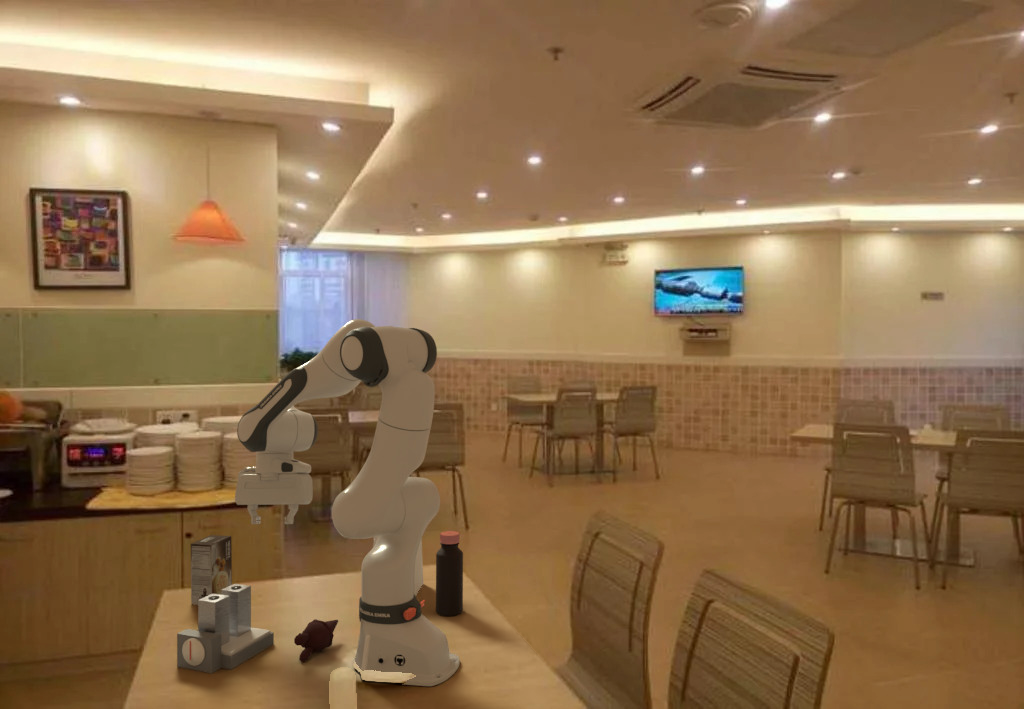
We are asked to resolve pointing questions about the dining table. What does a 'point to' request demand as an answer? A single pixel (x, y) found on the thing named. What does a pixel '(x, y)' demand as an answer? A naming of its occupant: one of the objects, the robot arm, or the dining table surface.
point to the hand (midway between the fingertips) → (272, 524)
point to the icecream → (315, 637)
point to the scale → (219, 649)
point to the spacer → (239, 608)
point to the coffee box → (210, 566)
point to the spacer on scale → (214, 615)
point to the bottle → (449, 575)
